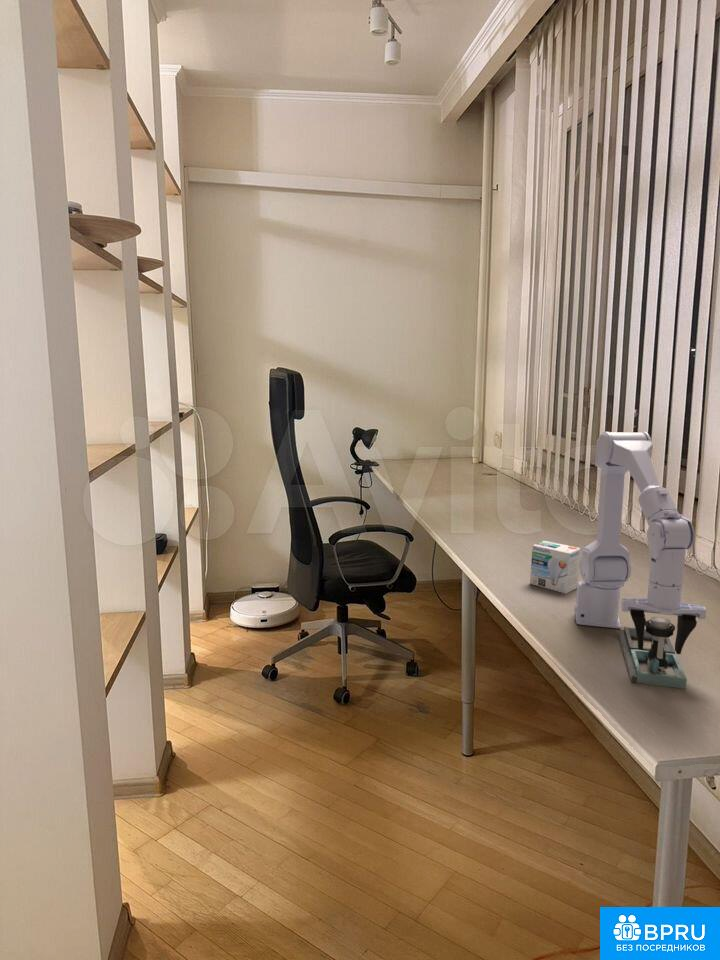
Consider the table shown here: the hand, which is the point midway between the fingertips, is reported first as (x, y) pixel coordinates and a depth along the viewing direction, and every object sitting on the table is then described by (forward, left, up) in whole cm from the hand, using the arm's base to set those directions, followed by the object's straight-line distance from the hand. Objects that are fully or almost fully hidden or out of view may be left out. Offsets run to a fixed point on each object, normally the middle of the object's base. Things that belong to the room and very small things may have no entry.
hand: (658, 649), depth 133 cm
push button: (0, +1, -5) cm, 5 cm away
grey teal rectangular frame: (0, +6, -5) cm, 7 cm away
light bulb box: (-18, +46, -5) cm, 50 cm away
